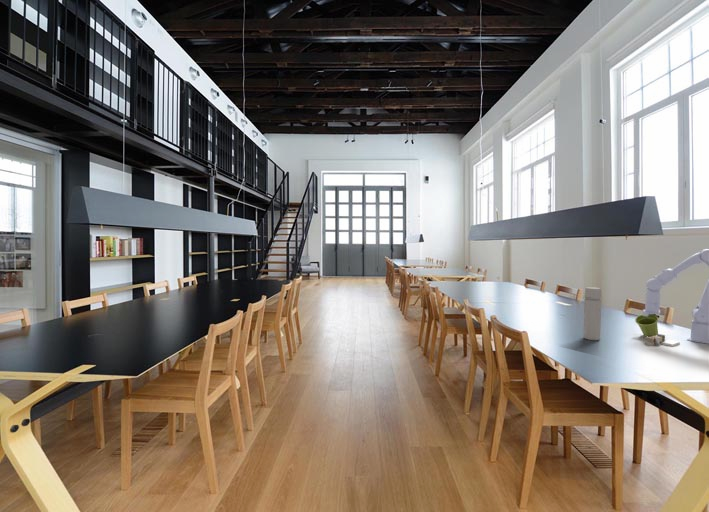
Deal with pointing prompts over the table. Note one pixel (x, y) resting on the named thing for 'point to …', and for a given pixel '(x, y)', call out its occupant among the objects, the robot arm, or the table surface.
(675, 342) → the mounting plate
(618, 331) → the table surface
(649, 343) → the oak arm
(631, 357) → the table surface
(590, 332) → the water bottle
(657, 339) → the stop post
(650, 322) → the plant pot
